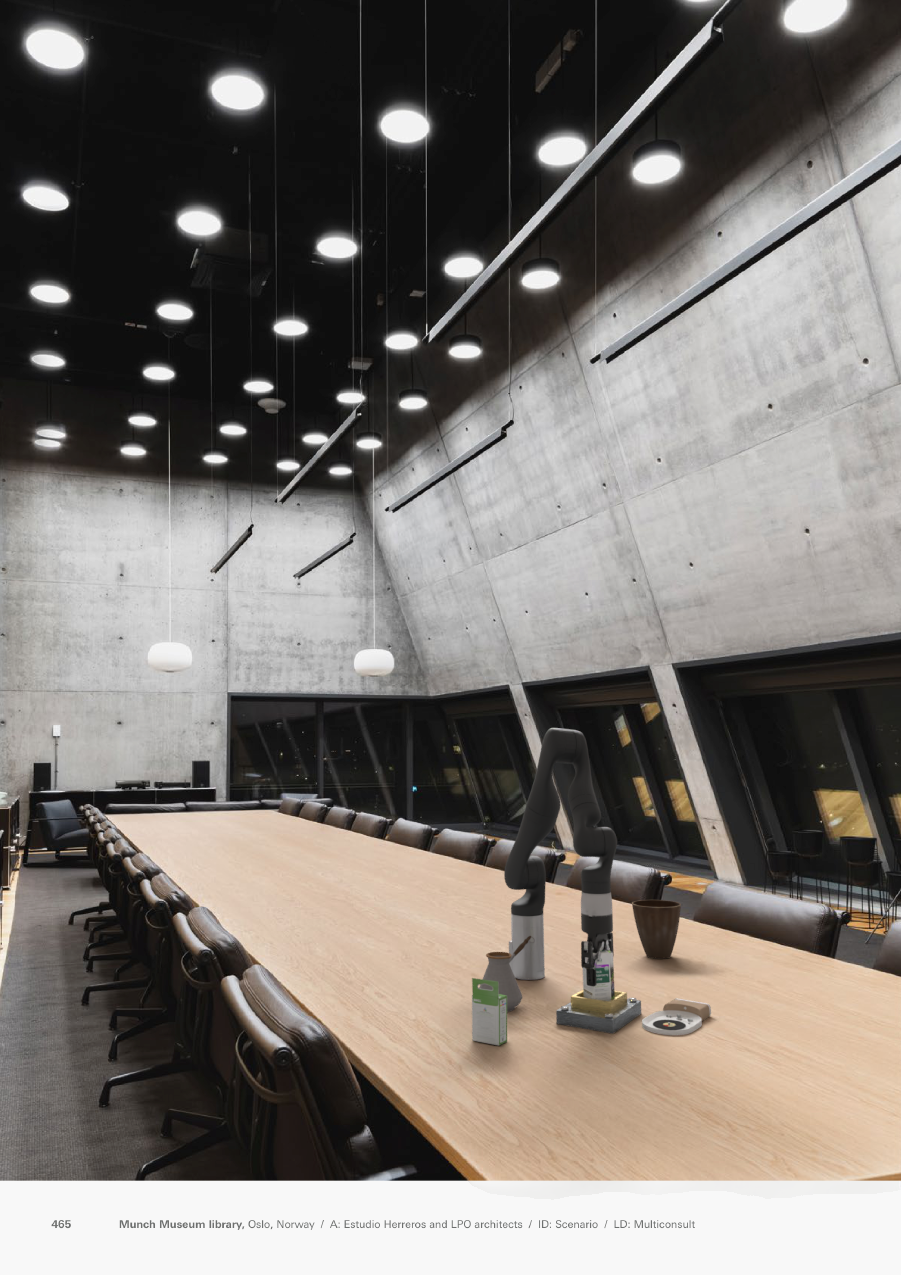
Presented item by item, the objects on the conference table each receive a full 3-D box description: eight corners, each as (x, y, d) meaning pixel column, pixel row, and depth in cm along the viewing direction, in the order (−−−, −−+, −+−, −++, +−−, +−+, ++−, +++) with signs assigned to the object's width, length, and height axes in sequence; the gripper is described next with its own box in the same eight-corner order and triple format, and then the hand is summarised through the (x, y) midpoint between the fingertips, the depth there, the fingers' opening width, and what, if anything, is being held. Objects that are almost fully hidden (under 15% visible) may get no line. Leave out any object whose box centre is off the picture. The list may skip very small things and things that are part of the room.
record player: (715, 1005, 210) (681, 1026, 194) (716, 1018, 209) (682, 1041, 194) (669, 997, 217) (633, 1017, 201) (669, 1010, 216) (633, 1031, 201)
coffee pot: (505, 1018, 210) (505, 952, 212) (467, 1009, 217) (466, 946, 219) (551, 998, 227) (550, 938, 229) (514, 991, 233) (513, 932, 235)
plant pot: (623, 954, 276) (622, 901, 278) (662, 949, 282) (660, 898, 284) (654, 964, 262) (652, 908, 265) (693, 958, 269) (691, 905, 271)
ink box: (508, 1042, 192) (507, 978, 194) (499, 1047, 189) (498, 982, 191) (481, 1036, 196) (480, 974, 198) (471, 1041, 193) (471, 977, 194)
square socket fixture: (556, 1024, 205) (556, 999, 205) (587, 1005, 220) (587, 982, 220) (613, 1033, 197) (612, 1008, 198) (641, 1013, 212) (640, 990, 213)
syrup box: (593, 1018, 205) (591, 953, 207) (583, 1011, 211) (581, 948, 213) (615, 1016, 207) (613, 952, 208) (604, 1008, 212) (603, 946, 214)
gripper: (593, 905, 220) (595, 973, 218) (569, 914, 208) (571, 986, 206) (622, 908, 216) (624, 977, 214) (599, 917, 204) (601, 991, 202)
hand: (598, 981), depth 210 cm, fingers closed on syrup box, 8 cm apart
